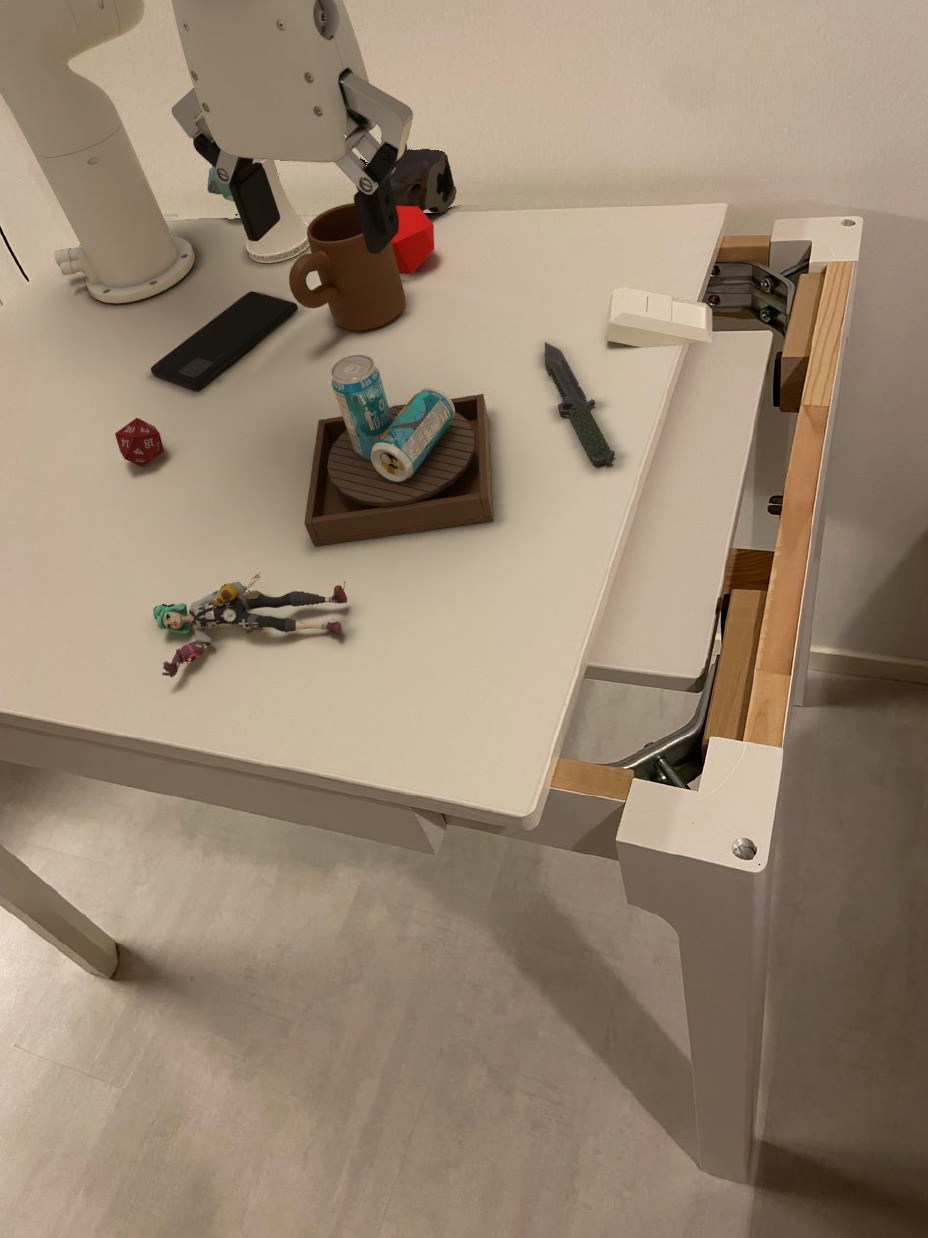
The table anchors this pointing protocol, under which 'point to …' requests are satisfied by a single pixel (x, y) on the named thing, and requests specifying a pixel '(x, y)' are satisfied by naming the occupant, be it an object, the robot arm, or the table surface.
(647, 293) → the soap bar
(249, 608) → the figurine
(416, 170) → the sculpture
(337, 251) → the mug
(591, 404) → the knife
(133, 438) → the dice
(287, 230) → the vase
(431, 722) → the table surface
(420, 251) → the red faceted polyhedron
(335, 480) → the blue cans and disc
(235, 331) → the smartphone
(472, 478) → the tray
